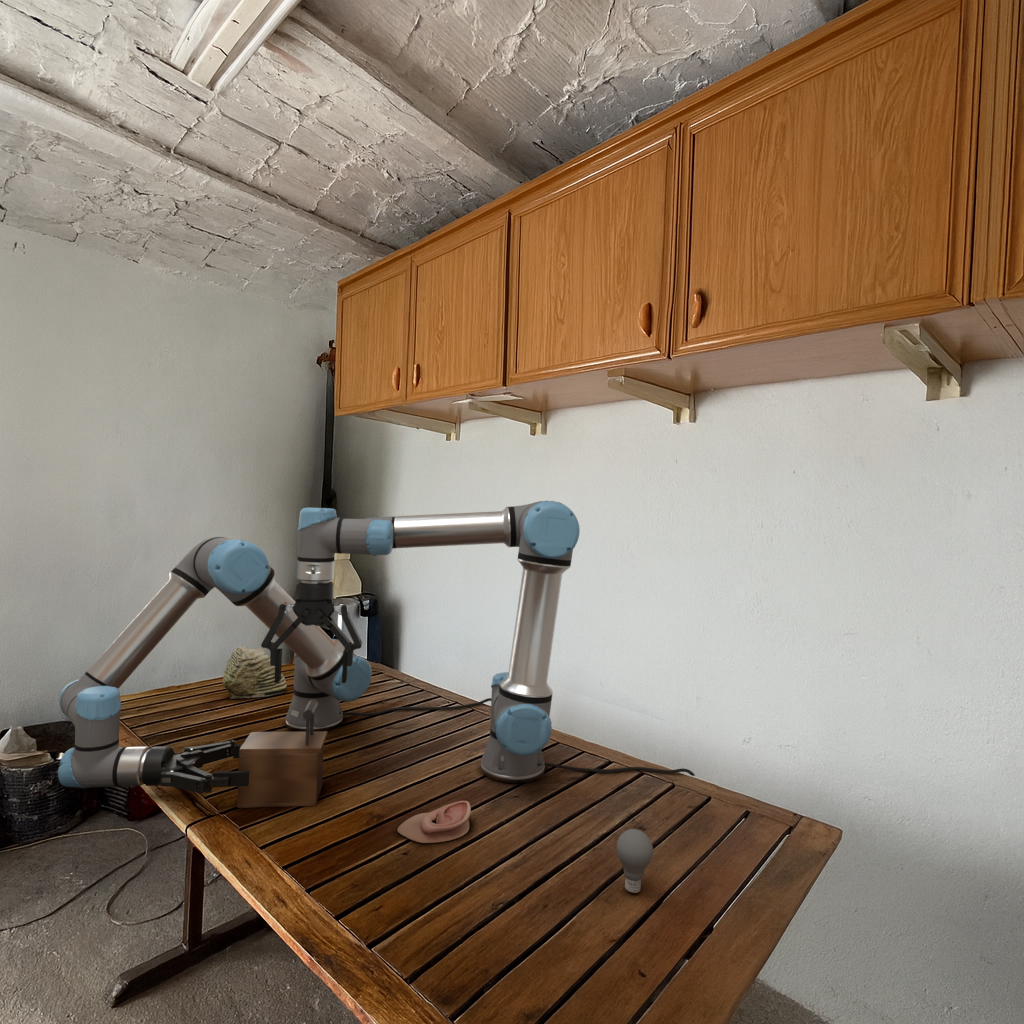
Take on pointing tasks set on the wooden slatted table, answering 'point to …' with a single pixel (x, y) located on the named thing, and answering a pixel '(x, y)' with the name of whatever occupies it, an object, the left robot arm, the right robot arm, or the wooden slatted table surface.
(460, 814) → the anatomical model
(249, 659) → the fossil
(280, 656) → the right robot arm
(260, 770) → the chest
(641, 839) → the light bulb
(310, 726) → the lid
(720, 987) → the wooden slatted table surface
